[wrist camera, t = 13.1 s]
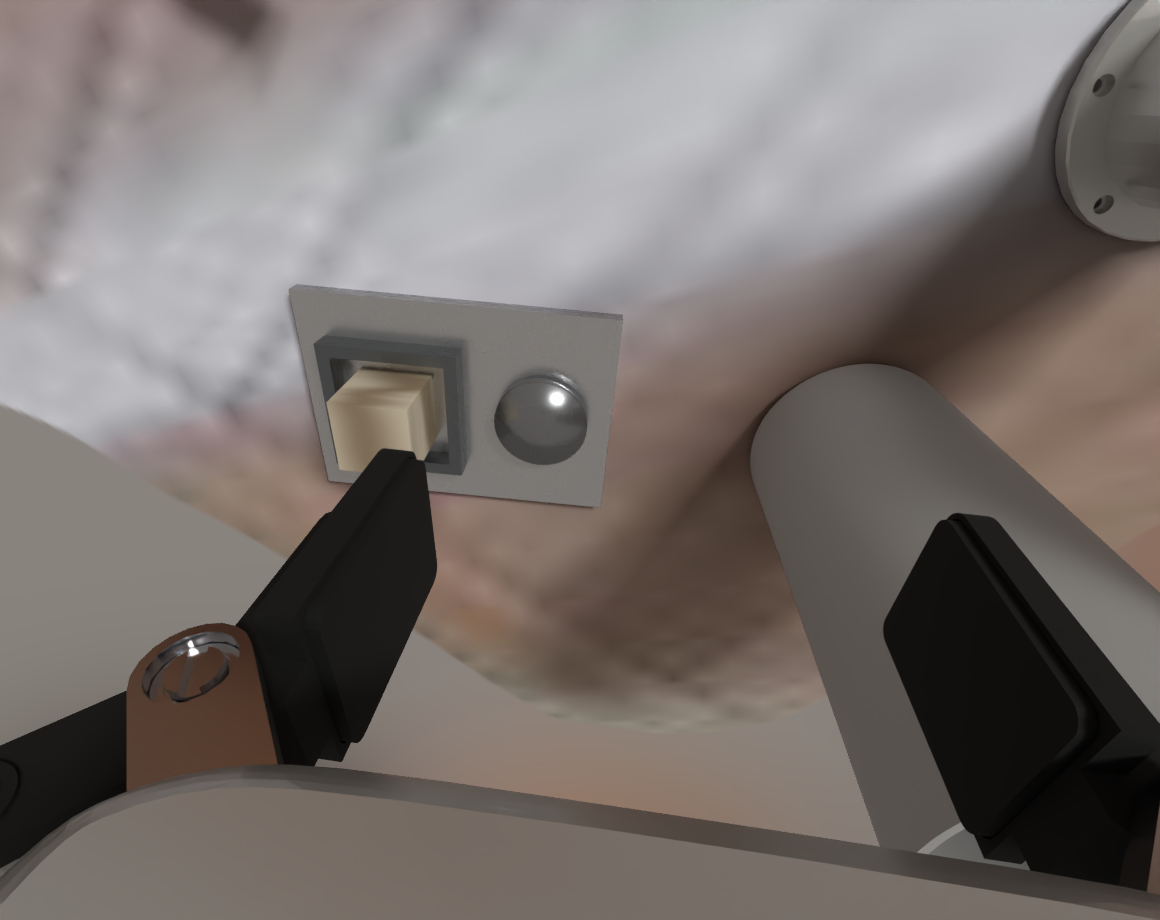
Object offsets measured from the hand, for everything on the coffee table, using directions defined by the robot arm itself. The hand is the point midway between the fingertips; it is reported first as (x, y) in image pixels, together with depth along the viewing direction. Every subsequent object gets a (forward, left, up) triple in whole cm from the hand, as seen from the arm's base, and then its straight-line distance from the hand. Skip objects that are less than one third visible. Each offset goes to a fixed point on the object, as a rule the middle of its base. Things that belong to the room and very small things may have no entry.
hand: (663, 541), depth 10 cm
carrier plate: (+10, +11, -25) cm, 29 cm away
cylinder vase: (-15, +11, -25) cm, 32 cm away
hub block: (+14, +11, -24) cm, 30 cm away
